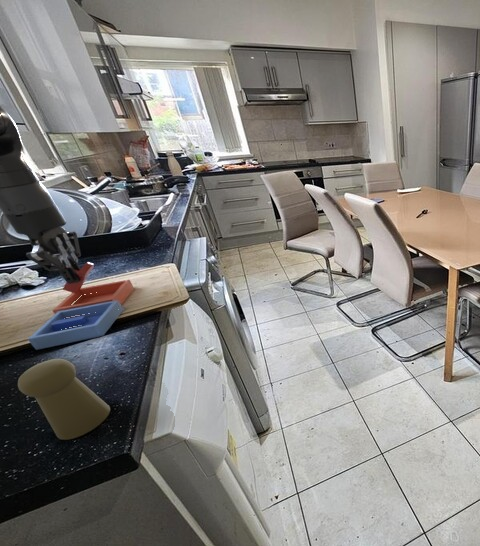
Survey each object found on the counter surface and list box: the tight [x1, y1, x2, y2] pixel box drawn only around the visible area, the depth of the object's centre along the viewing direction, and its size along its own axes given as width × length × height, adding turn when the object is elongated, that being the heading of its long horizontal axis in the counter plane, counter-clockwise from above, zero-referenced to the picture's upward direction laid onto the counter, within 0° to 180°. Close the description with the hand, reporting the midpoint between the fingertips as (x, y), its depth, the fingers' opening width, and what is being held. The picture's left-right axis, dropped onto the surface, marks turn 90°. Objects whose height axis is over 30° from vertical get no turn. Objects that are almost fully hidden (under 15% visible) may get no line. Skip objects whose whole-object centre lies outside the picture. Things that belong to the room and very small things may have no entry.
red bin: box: [51, 279, 135, 315], centre depth 76 cm, size 11×10×3 cm
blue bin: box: [27, 300, 124, 351], centre depth 67 cm, size 11×10×3 cm
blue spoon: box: [51, 315, 101, 332], centre depth 67 cm, size 8×3×2 cm, turn 110°
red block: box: [62, 261, 95, 294], centre depth 73 cm, size 8×3×2 cm
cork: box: [17, 358, 111, 441], centre depth 44 cm, size 6×6×11 cm
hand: (77, 280), depth 73 cm, fingers closed on red block, 1 cm apart
